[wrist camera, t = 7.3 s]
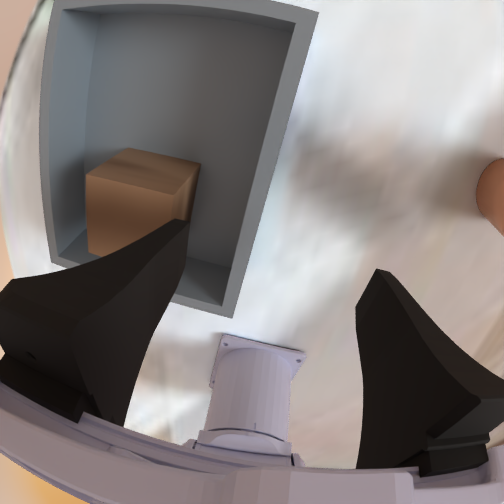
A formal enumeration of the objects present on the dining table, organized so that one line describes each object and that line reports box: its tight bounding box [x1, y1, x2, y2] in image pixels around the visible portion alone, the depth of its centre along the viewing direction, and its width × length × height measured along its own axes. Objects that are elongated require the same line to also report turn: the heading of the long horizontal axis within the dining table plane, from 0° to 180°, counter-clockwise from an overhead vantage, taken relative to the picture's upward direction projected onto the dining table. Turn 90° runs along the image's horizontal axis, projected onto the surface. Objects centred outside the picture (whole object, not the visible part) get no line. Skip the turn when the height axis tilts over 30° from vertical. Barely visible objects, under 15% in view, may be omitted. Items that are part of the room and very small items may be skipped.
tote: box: [39, 0, 319, 318], centre depth 17 cm, size 18×14×5 cm
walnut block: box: [86, 147, 201, 257], centre depth 18 cm, size 5×5×5 cm
